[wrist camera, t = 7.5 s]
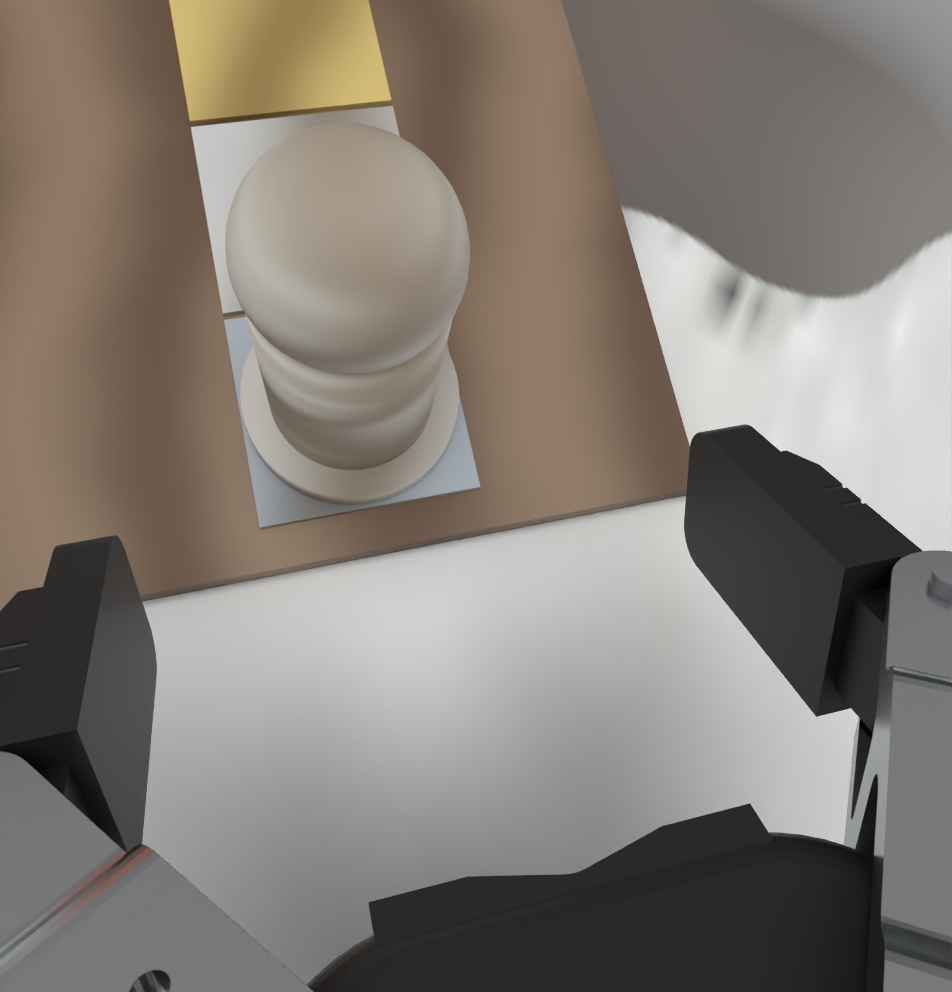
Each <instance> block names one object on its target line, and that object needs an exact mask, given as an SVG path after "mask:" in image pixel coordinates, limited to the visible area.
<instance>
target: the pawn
mask: <svg viewBox="0 0 952 992" xmlns="http://www.w3.org/2000/svg"><path fill="white" fill-rule="evenodd" d="M225 252H226V262H227V269H228V273H229V277H230V281H231V284H232V287H233V289H234V292H235V294H236V297H237V299H238V301H239V304H240V305H241V307H242V309H243V311H244V312H245V315H246V319H247V323H248V327H249V331H250V334H251V338H252V342H253V347H252V349H251V351H250V353H249V355H248V357H247V360H246V362H245V365H244V368H243V373H242V378H241V386H240V400H241V410H242V414H243V418H244V422H245V425H246V428H247V431H248V433H249V436H250V439H251V441H252V444H253V446H254V448H255V449H256V451H257V453H258V455H259V456H260V458H261V459H262V460H263V462H264V463H265V464H266V466H267V467H268V468H269V469H270V470H271V471H272V472H273V473H274V474H275V475H276V476H277V477H278V478H279V479H280V480H282V481H283V482H284V483H286V484H287V485H288V486H290V487H291V488H293V489H295V490H297V491H298V492H300V493H302V494H304V495H307V496H309V497H312V498H314V499H317V500H321V501H325V502H329V503H336V504H345V505H358V504H367V503H373V502H377V501H382V500H385V499H388V498H391V497H393V496H396V495H398V494H400V493H402V492H404V491H406V490H407V489H409V488H411V487H412V486H414V485H415V484H416V483H418V482H419V481H421V480H422V479H423V478H424V477H425V476H426V475H427V474H428V473H429V472H430V471H431V470H432V469H433V467H434V466H435V465H436V464H437V462H438V461H439V460H440V458H441V457H442V455H443V453H444V451H445V450H446V448H447V445H448V443H449V441H450V438H451V436H452V433H453V429H454V426H455V422H456V419H457V415H458V407H459V385H458V379H457V374H456V371H455V367H454V364H453V361H452V359H451V357H450V355H449V352H448V350H447V349H446V345H447V341H448V336H449V332H450V328H451V324H452V320H453V316H454V314H455V313H456V310H457V308H458V306H459V304H460V301H461V299H462V296H463V294H464V291H465V287H466V284H467V280H468V272H469V264H470V241H469V234H468V228H467V222H466V219H465V215H464V212H463V209H462V207H461V204H460V202H459V200H458V197H457V195H456V193H455V191H454V189H453V187H452V186H451V184H450V183H449V181H448V180H447V178H446V177H445V175H444V174H443V173H442V172H441V170H440V169H439V168H438V167H437V166H436V164H435V163H434V162H433V161H432V160H431V159H430V158H429V157H428V156H427V155H426V154H425V153H423V152H422V151H421V150H420V149H418V148H417V147H415V146H414V145H413V144H411V143H410V142H408V141H406V140H404V139H402V138H401V137H399V136H397V135H395V134H393V133H390V132H388V131H386V130H383V129H380V128H377V127H373V126H369V125H364V124H358V123H329V124H323V125H317V126H314V127H310V128H307V129H304V130H301V131H299V132H297V133H294V134H292V135H290V136H288V137H286V138H285V139H283V140H281V141H279V142H278V143H276V144H275V145H274V146H272V147H271V148H270V149H268V150H267V151H266V152H265V153H264V154H263V155H262V156H261V157H260V158H259V159H258V160H257V161H256V162H255V163H254V165H253V166H252V167H251V168H250V170H249V171H248V172H247V174H246V175H245V176H244V178H243V180H242V182H241V184H240V185H239V187H238V189H237V192H236V194H235V196H234V199H233V202H232V204H231V207H230V210H229V215H228V220H227V226H226V236H225Z"/></svg>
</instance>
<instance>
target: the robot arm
mask: <svg viewBox="0 0 952 992" xmlns="http://www.w3.org/2000/svg"><path fill="white" fill-rule="evenodd" d="M684 531H685V538H686V543H687V547H688V550H689V553H690V555H691V557H692V559H693V561H694V563H695V564H696V566H697V567H698V568H699V570H700V571H701V572H702V573H703V575H704V576H705V577H706V578H707V580H708V581H709V582H710V583H711V585H712V586H713V587H714V588H715V590H716V591H717V592H718V593H719V595H720V596H721V597H722V598H723V600H724V601H725V602H726V604H727V605H728V606H729V607H730V609H731V610H732V611H733V612H734V614H735V615H736V616H737V617H738V619H739V620H740V621H741V622H742V624H743V625H744V626H745V627H746V629H747V630H748V631H749V632H750V634H751V635H752V636H753V638H754V639H755V640H756V641H757V643H758V644H759V645H760V646H761V648H762V649H763V650H764V651H765V653H766V654H767V655H768V656H769V658H770V659H771V660H772V661H773V663H774V664H775V665H776V666H777V668H778V669H779V670H780V671H781V673H782V674H783V675H784V677H785V678H786V679H787V680H788V682H789V683H790V684H791V685H792V687H793V688H794V689H795V690H796V692H797V693H798V694H799V695H800V697H801V698H802V699H803V700H804V702H805V703H806V704H807V705H808V707H809V708H810V709H811V710H812V712H813V713H814V714H815V716H816V717H817V716H821V715H825V714H829V713H833V712H837V711H841V710H845V709H849V708H852V710H853V711H854V712H855V713H856V714H857V715H858V717H859V719H858V723H857V727H856V732H855V736H854V745H853V756H852V766H851V776H850V787H849V797H848V808H847V818H846V829H845V839H844V845H842V844H838V843H835V842H831V841H828V840H825V839H820V838H815V837H809V836H804V835H798V834H787V833H768V831H767V830H766V828H765V826H764V825H763V823H762V822H761V820H760V819H759V817H758V815H757V814H756V812H755V811H754V809H753V808H752V806H751V804H746V805H742V806H739V807H735V808H731V809H727V810H723V811H719V812H715V813H712V814H708V815H704V816H700V817H696V818H692V819H688V820H685V821H681V822H677V823H673V824H669V825H665V826H662V827H660V828H658V829H656V830H654V831H653V832H651V833H649V834H647V835H645V836H644V837H642V838H640V839H638V840H637V841H635V842H633V843H631V844H629V845H628V846H626V847H624V848H622V849H620V850H619V851H617V852H615V853H613V854H611V855H610V856H608V857H606V858H604V859H602V860H601V861H599V862H597V863H595V864H593V865H592V866H590V867H588V868H586V869H584V870H582V871H580V872H577V873H573V874H565V875H521V876H476V877H465V878H461V879H457V880H453V881H449V882H446V883H442V884H438V885H434V886H430V887H426V888H422V889H419V890H415V891H411V892H407V893H403V894H399V895H395V896H392V897H388V898H384V899H380V900H376V901H372V902H369V908H370V914H371V920H372V926H373V933H374V935H373V936H371V937H369V938H367V939H366V940H364V941H362V942H360V943H358V944H357V945H355V946H353V947H352V948H351V949H349V950H348V951H346V952H345V953H343V954H342V955H341V956H339V957H338V958H336V959H335V960H334V961H332V962H331V963H330V964H329V965H328V966H327V967H326V968H325V969H323V970H322V971H321V972H320V973H319V974H318V975H317V976H315V977H314V978H313V979H312V980H311V981H310V982H309V983H308V984H307V985H305V984H304V983H303V982H302V981H301V980H300V979H299V978H298V977H296V976H295V975H294V974H293V973H292V972H291V971H290V970H288V969H287V968H286V967H285V966H284V965H283V964H282V963H281V962H279V961H278V960H277V959H276V958H275V957H274V956H273V955H272V954H270V953H269V952H268V951H267V950H266V949H265V948H264V947H262V946H261V945H260V944H259V943H258V942H257V941H256V940H255V939H253V938H252V937H251V936H250V935H249V934H248V933H247V932H246V931H244V930H243V929H242V928H241V927H240V926H239V925H238V924H236V923H235V922H234V921H233V920H232V919H231V918H230V917H229V916H227V915H226V914H225V913H224V912H223V911H222V910H221V909H220V908H218V907H217V906H216V905H215V904H214V903H213V902H212V901H210V900H209V899H208V898H207V897H206V896H205V895H204V894H203V893H201V892H200V891H199V890H198V889H197V888H196V887H195V886H194V885H192V884H191V883H190V882H189V881H188V880H187V879H186V878H185V877H183V876H182V875H181V874H180V873H179V872H178V871H177V870H175V869H174V868H173V867H172V866H171V865H170V864H169V863H168V862H166V861H165V860H164V859H163V858H162V857H161V856H160V855H158V854H157V853H156V852H155V851H153V850H152V849H150V848H149V847H147V846H145V845H142V837H143V825H144V814H145V802H146V791H147V779H148V767H149V756H150V744H151V733H152V721H153V709H154V698H155V686H156V674H157V665H156V653H155V646H154V641H153V636H152V632H151V628H150V625H149V622H148V619H147V615H146V612H145V609H144V606H143V603H142V600H141V597H140V594H139V591H138V588H137V585H136V582H135V579H134V576H133V573H132V570H131V566H130V563H129V560H128V557H127V554H126V551H125V548H124V546H123V544H122V542H121V540H120V538H119V537H118V536H117V535H113V536H107V537H102V538H96V539H91V540H85V541H79V542H74V543H68V544H62V545H57V546H56V547H55V548H54V550H53V553H52V557H51V560H50V564H49V567H48V571H47V574H46V578H45V581H44V585H43V587H39V588H34V589H29V590H23V591H18V592H17V593H16V594H15V595H14V597H13V598H12V599H11V600H10V601H9V602H8V603H7V604H6V605H5V606H4V607H3V609H2V610H1V611H0V992H952V552H950V551H922V550H921V549H920V548H918V547H917V546H916V545H915V544H914V543H912V542H911V541H910V540H909V539H908V538H906V537H905V536H904V535H903V534H902V533H900V532H899V531H898V530H897V529H896V528H894V527H893V526H892V525H891V524H890V523H888V522H887V521H886V520H885V519H884V518H882V517H881V516H880V515H879V514H878V513H877V512H875V511H874V510H873V509H872V508H871V507H869V506H868V505H867V504H866V503H865V504H862V503H861V499H860V498H859V497H857V496H856V495H855V494H854V493H853V492H851V491H850V490H849V489H848V488H843V487H842V483H841V482H839V481H838V480H837V479H836V478H835V477H833V476H832V475H831V474H830V473H829V472H827V471H826V470H825V469H824V468H823V467H821V466H820V465H818V464H816V463H814V462H812V461H809V460H807V459H805V458H802V457H800V456H798V455H795V454H793V453H791V452H788V451H782V452H780V451H779V450H778V449H777V448H776V447H775V446H773V445H772V444H771V443H770V442H769V441H768V440H767V439H765V438H764V437H763V436H762V435H761V434H760V433H758V432H757V431H756V430H755V429H754V428H753V427H751V426H749V425H739V426H734V427H728V428H722V429H717V430H711V431H705V432H700V433H697V434H696V435H695V436H694V437H693V439H692V441H691V445H690V451H689V465H688V478H687V492H686V505H685V519H684Z"/></svg>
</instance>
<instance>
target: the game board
mask: <svg viewBox="0 0 952 992" xmlns="http://www.w3.org/2000/svg"><path fill="white" fill-rule="evenodd" d="M329 123H358V124H364V125H369V126H373V127H377V128H380V129H383V130H386V131H388V132H390V133H393V134H395V135H397V136H399V137H401V138H402V139H404V140H406V141H408V142H410V143H411V144H413V145H414V146H415V147H417V148H418V149H420V150H421V151H422V152H423V153H425V154H426V155H427V156H428V157H429V158H430V159H431V160H432V161H433V162H434V163H435V164H436V166H437V167H438V168H439V169H440V170H441V172H442V173H443V174H444V175H445V177H446V178H447V180H448V181H449V183H450V184H451V186H452V187H453V189H454V191H455V193H456V195H457V197H458V200H459V202H460V204H461V207H462V209H463V212H464V215H465V219H466V222H467V228H468V234H469V241H470V264H469V272H468V280H467V284H466V287H465V291H464V294H463V296H462V299H461V301H460V304H459V306H458V308H457V310H456V313H455V314H454V316H453V320H452V324H451V328H450V332H449V336H448V341H447V345H446V349H447V350H448V352H449V355H450V357H451V359H452V361H453V364H454V367H455V371H456V374H457V379H458V385H459V407H458V415H457V419H456V422H455V426H454V429H453V433H452V436H451V438H450V441H449V443H448V445H447V448H446V450H445V451H444V453H443V455H442V457H441V458H440V460H439V461H438V462H437V464H436V465H435V466H434V467H433V469H432V470H431V471H430V472H429V473H428V474H427V475H426V476H425V477H424V478H423V479H422V480H421V481H419V482H418V483H416V484H415V485H414V486H412V487H411V488H409V489H407V490H406V491H404V492H402V493H400V494H398V495H396V496H393V497H391V498H388V499H385V500H382V501H377V502H373V503H367V504H358V505H345V504H336V503H329V502H325V501H321V500H317V499H314V498H312V497H309V496H307V495H304V494H302V493H300V492H298V491H297V490H295V489H293V488H291V487H290V486H288V485H287V484H286V483H284V482H283V481H282V480H280V479H279V478H278V477H277V476H276V475H275V474H274V473H273V472H272V471H271V470H270V469H269V468H268V467H267V466H266V464H265V463H264V462H263V460H262V459H261V458H260V456H259V455H258V453H257V451H256V449H255V448H254V446H253V444H252V441H251V439H250V436H249V433H248V431H247V428H246V425H245V422H244V418H243V414H242V410H241V400H240V386H241V378H242V373H243V368H244V365H245V362H246V360H247V357H248V355H249V353H250V351H251V349H252V347H253V342H252V338H251V334H250V331H249V327H248V323H247V319H246V315H245V312H244V311H243V309H242V307H241V305H240V304H239V301H238V299H237V297H236V294H235V292H234V289H233V287H232V284H231V281H230V277H229V273H228V269H227V262H226V252H225V236H226V226H227V220H228V215H229V210H230V207H231V204H232V202H233V199H234V196H235V194H236V192H237V189H238V187H239V185H240V184H241V182H242V180H243V178H244V176H245V175H246V174H247V172H248V171H249V170H250V168H251V167H252V166H253V165H254V163H255V162H256V161H257V160H258V159H259V158H260V157H261V156H262V155H263V154H264V153H265V152H266V151H267V150H268V149H270V148H271V147H272V146H274V145H275V144H276V143H278V142H279V141H281V140H283V139H285V138H286V137H288V136H290V135H292V134H294V133H297V132H299V131H301V130H304V129H307V128H310V127H314V126H317V125H323V124H329ZM689 451H690V446H689V443H688V439H687V436H686V432H685V429H684V425H683V422H682V419H681V415H680V412H679V408H678V405H677V401H676V398H675V394H674V391H673V387H672V384H671V380H670V377H669V373H668V370H667V366H666V363H665V359H664V356H663V352H662V349H661V345H660V342H659V338H658V335H657V331H656V328H655V324H654V321H653V317H652V314H651V310H650V307H649V303H648V300H647V296H646V293H645V290H644V286H643V283H642V279H641V276H640V272H639V269H638V265H637V262H636V258H635V255H634V251H633V248H632V244H631V241H630V237H629V234H628V230H627V227H626V223H625V220H624V216H623V213H622V209H621V206H620V202H619V199H618V196H617V192H616V188H615V185H614V181H613V178H612V175H611V171H610V168H609V164H608V161H607V157H606V154H605V150H604V147H603V143H602V140H601V136H600V133H599V129H598V126H597V123H596V119H595V115H594V112H593V108H592V105H591V101H590V98H589V94H588V91H587V87H586V84H585V80H584V77H583V73H582V70H581V67H580V63H579V59H578V56H577V52H576V49H575V46H574V42H573V39H572V35H571V32H570V28H569V25H568V21H567V18H566V14H565V11H564V8H563V4H562V0H0V611H1V610H2V609H3V607H4V606H5V605H6V604H7V603H8V602H9V601H10V600H11V599H12V598H13V597H14V595H15V594H16V593H17V592H18V591H23V590H29V589H34V588H39V587H43V585H44V581H45V578H46V574H47V571H48V567H49V564H50V560H51V557H52V553H53V550H54V548H55V547H56V546H57V545H62V544H68V543H74V542H79V541H85V540H91V539H96V538H102V537H107V536H113V535H117V536H118V537H119V538H120V540H121V542H122V544H123V546H124V548H125V551H126V554H127V557H128V560H129V563H130V566H131V570H132V573H133V576H134V579H135V582H136V585H137V588H138V591H139V594H140V597H141V600H142V601H145V600H150V599H156V598H161V597H166V596H171V595H176V594H181V593H186V592H191V591H197V590H202V589H207V588H212V587H217V586H222V585H227V584H232V583H238V582H243V581H248V580H253V579H258V578H263V577H268V576H273V575H279V574H284V573H289V572H294V571H299V570H304V569H309V568H315V567H320V566H325V565H330V564H335V563H340V562H345V561H350V560H356V559H361V558H366V557H371V556H376V555H381V554H386V553H391V552H397V551H402V550H407V549H412V548H417V547H422V546H427V545H432V544H438V543H443V542H448V541H453V540H458V539H463V538H468V537H474V536H479V535H484V534H489V533H494V532H499V531H504V530H509V529H515V528H520V527H525V526H530V525H535V524H540V523H545V522H550V521H556V520H561V519H566V518H571V517H576V516H581V515H586V514H591V513H597V512H602V511H607V510H612V509H617V508H622V507H627V506H632V505H638V504H643V503H648V502H653V501H658V500H663V499H668V498H674V497H679V496H684V495H686V492H687V478H688V465H689Z"/></svg>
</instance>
